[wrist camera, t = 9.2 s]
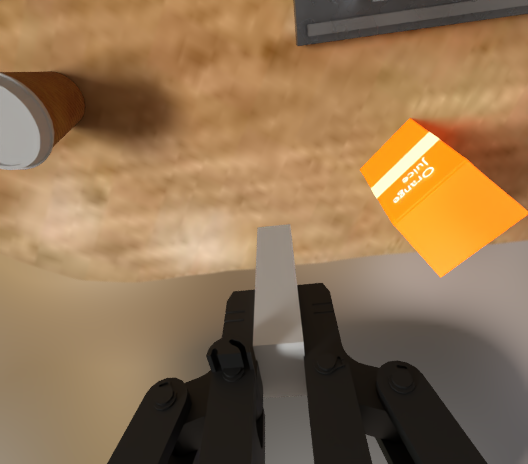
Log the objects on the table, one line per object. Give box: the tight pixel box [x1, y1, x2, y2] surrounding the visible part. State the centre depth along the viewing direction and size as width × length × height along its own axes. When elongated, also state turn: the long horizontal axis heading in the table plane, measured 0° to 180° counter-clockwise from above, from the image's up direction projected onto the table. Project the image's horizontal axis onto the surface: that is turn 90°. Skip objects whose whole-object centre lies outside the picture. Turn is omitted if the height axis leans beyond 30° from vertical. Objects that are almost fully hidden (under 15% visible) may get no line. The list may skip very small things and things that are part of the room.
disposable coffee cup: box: [0, 72, 85, 170], centre depth 36 cm, size 10×10×12 cm
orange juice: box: [360, 119, 528, 277], centre depth 37 cm, size 8×9×20 cm
